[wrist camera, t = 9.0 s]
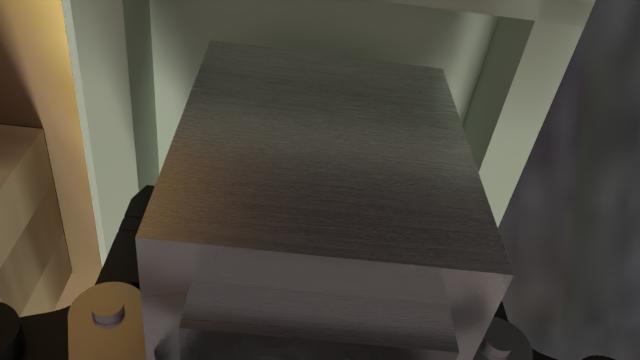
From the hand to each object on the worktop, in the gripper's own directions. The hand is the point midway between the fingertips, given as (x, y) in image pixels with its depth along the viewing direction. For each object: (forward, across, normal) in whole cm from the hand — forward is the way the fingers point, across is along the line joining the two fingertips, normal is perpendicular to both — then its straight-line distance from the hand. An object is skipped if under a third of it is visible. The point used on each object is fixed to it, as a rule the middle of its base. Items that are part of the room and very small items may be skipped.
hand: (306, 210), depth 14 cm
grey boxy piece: (+1, 0, 0) cm, 1 cm away
